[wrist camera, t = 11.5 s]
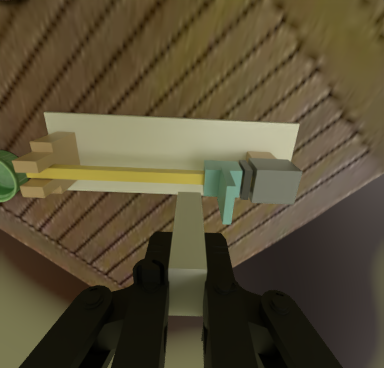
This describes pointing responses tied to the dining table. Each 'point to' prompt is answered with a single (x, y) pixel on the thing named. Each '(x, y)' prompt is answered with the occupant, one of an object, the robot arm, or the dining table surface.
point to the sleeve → (223, 185)
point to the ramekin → (9, 176)
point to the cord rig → (158, 155)
